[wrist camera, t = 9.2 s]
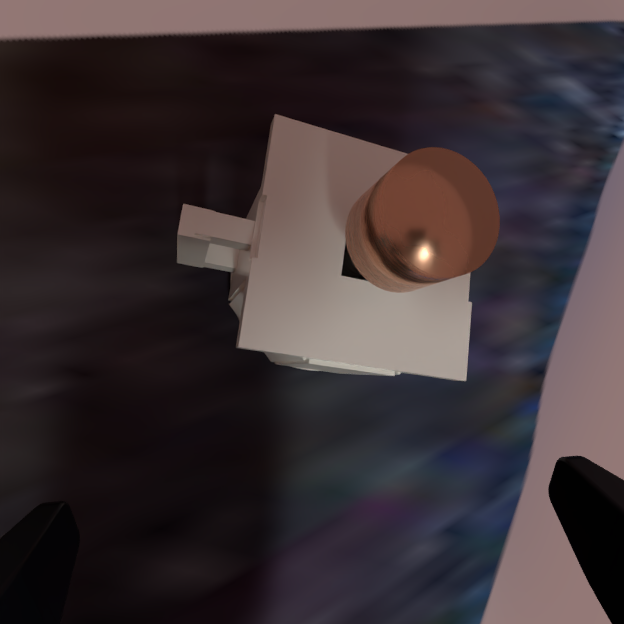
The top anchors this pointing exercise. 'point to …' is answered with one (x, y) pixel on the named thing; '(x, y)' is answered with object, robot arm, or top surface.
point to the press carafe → (323, 267)
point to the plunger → (422, 223)
